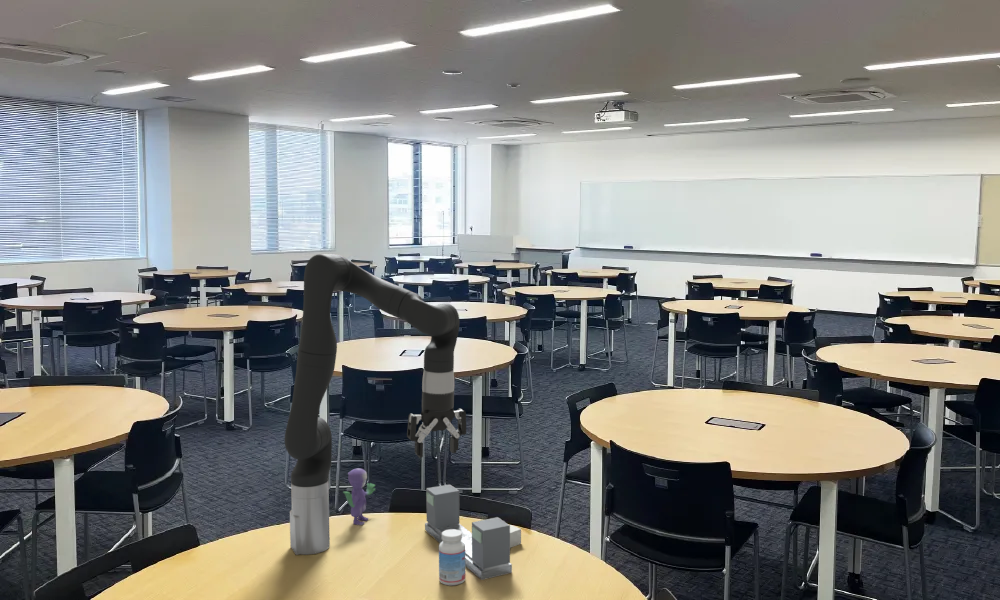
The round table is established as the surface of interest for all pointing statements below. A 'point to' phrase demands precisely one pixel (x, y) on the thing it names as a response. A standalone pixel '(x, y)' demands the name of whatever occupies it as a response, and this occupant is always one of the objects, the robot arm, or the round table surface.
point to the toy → (358, 494)
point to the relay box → (515, 536)
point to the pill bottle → (452, 558)
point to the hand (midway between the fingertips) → (436, 454)
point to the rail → (470, 552)
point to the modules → (486, 534)
